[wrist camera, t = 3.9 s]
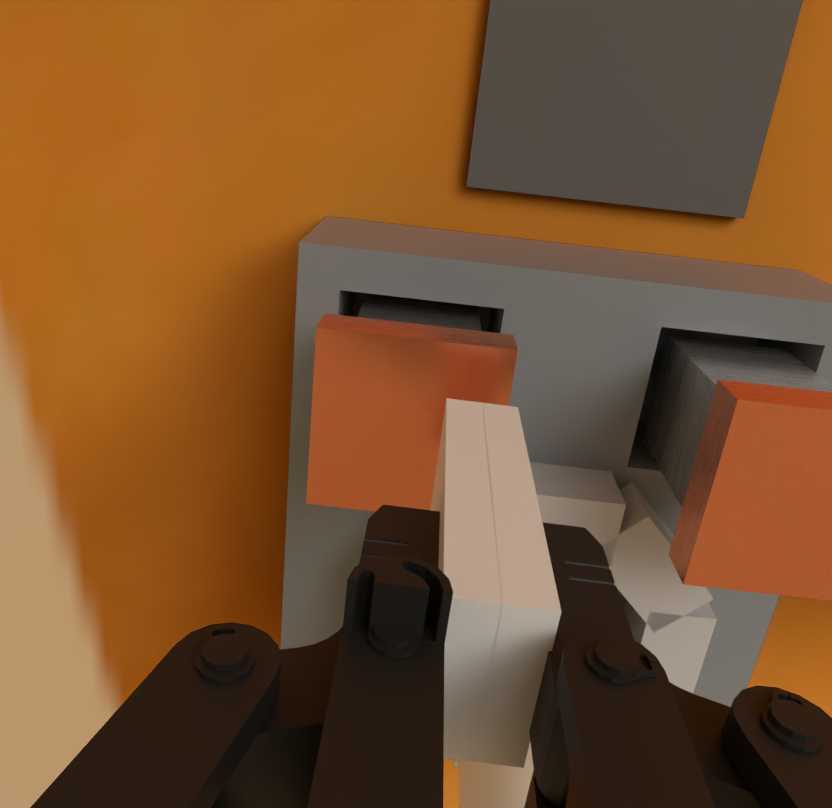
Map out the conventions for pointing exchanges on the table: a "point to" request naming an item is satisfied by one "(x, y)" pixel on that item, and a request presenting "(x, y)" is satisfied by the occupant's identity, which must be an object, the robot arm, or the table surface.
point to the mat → (629, 99)
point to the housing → (559, 409)
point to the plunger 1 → (395, 396)
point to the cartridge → (494, 784)
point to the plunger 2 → (746, 467)
